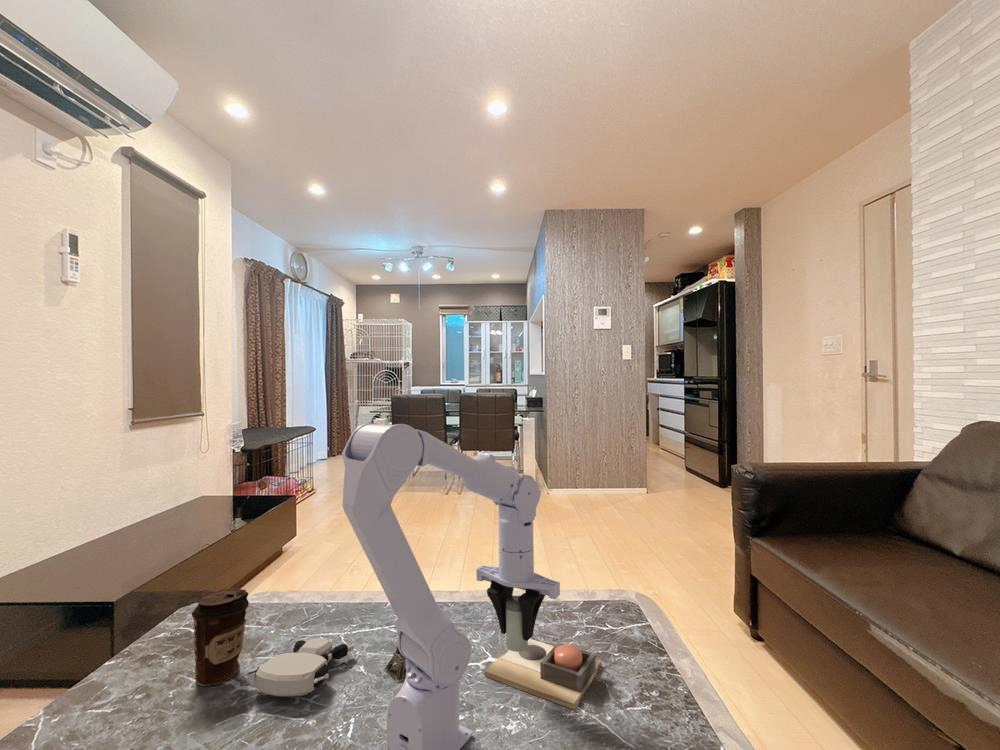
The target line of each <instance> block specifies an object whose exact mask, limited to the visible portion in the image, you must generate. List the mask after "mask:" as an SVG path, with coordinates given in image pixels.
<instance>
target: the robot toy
mask: <svg viewBox="0 0 1000 750" xmlns="http://www.w3.org/2000/svg"><path fill="white" fill-rule="evenodd" d="M354 649H355V646H354V644H352V643H341V644H338V645H337V646H334V647H333V638H329V639H328V638H323V637H316V638H310V639H308V640H307V641H306V640H305V639H304V640H297V641H296V642H295V643H294V647H293V650H292V652H286V653H280V654H277V655H273V656H272V657H270V658H269V659H268V660H266V661H265V662H263V663H262V664H260V665H259V666H257V668H256V669H254V670H250V671H248V672H244V673H242V677H247V676H249V675H252V674H254V688H255V689H256V690H258V691H259V692H260V693H263V694H265V695H270V696H273V697H295V696H296V697H298V696H299V697H302V696H307V695H308V694H310V693H312V692H313V691H314V690H315V689H317V688H318V687H319V686H321V684H323V682H324V681H325V680H327V679H329V677H330V676H329V669H330V668H329V667H330V666H329V665H328V663H329V662H331V660H340V659H342V658H344V657H347V656H348V653H349V652H352V651H353V650H354Z"/></svg>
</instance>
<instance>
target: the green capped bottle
mask: <svg viewBox="0 0 1000 750" xmlns="http://www.w3.org/2000/svg"><path fill="white" fill-rule="evenodd" d="M520 596H521V595H512V596H510V597H508V598H507V599H506V633H505V642H506V643H505V646H506V649H507V650H508V649H509V650H511V651H515V652H519V651H524V650H526V649H527V647H528V641H525V640H523V635H522V613H521V608H520V604H519V600H518V598H519V597H520Z"/></svg>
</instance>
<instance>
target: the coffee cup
mask: <svg viewBox="0 0 1000 750" xmlns="http://www.w3.org/2000/svg"><path fill="white" fill-rule="evenodd" d="M248 596H249V593H248V591H247V590H246V589H241V588H238V587H236V588H234V587H230V588H226V589H221V590H217V591H214V592H211V593H208V594H206V595H204V596H203V597H202V598H200V599H199V601H198V604H197V606H196V607H194V609H193V610H192V613H191V617H192V618H193V642H194V647H193V648H194V650H193V651H194V662H195V668H194V669H195V670H194V671H195V672H194V673H195V681H196V684H197V685H198V686H202V687H207V686H214V685H218V684H221V683H223V682H225V681H227V680H230V679H231V678H232V677H234V676H235V675H236V674H237V673H238V672H239V670H240V667H241V666H240V662H239V660H238V659H239V657H240V654H241V652H242V650H243V648H244V647H243V646H244V645H243V644H244V643H243V642H244V635H245V627H246V623H247V619H246V614H247V612H246V610H247V609H248V608H249V605H250V602H249V600H248Z"/></svg>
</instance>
